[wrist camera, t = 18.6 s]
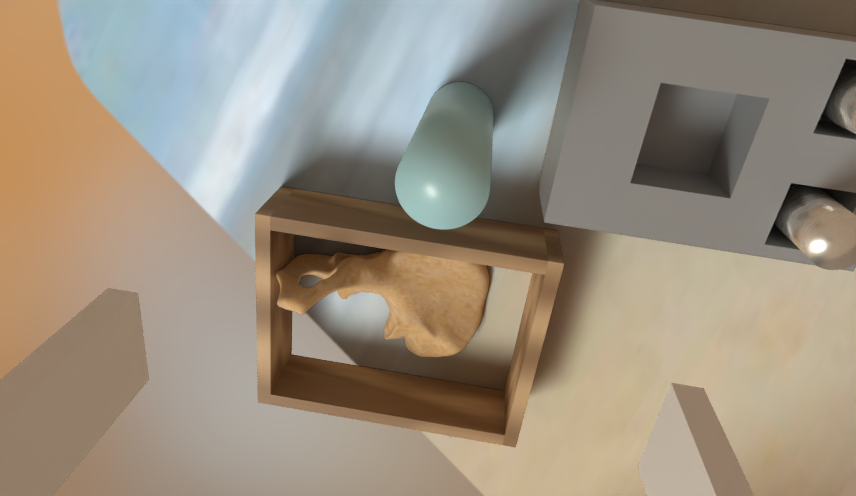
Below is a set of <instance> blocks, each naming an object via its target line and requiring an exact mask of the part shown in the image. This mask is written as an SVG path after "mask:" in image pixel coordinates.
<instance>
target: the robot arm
mask: <svg viewBox="0 0 856 496" xmlns="http://www.w3.org/2000/svg"><path fill="white" fill-rule="evenodd" d="M148 380H149V375H148V368H147V360H146V352H145V344H144V336H143V328H142V320H141V312H140V304H139V296H138V293H135V292H129V291H123V290H118V289H111V288H108V289H106V290H105V291H104V292H103V293H102V294H101V295H99V296H98V297H97V298H96V299H95V300H94V301H92V302H91V303H90V304H89V305H88V306H86V307H85V308H84V309H83V310H82V311H81V312H80V313H78V314H77V315H76V316H75V317H74V318H72V319H71V320H70V321H69V322H68V323H66V325H64V326H63V327H62V328H61V329H60V330H58V331H57V332H56V333H55V334H54V335H52V336H51V337H50V338H49V339H48V340H47V341H45V342H44V343H43V344H42V345H41V346H40V347H38V348H37V349H36V350H35V351H34V352H33V353H31V354H30V355H29V356H28V357H27V358H25V359H24V360H23V361H22V362H21V363H19V364H18V365H17V366H16V367H15V368H14V369H13V370H11V371H10V372H9V373H8V374H7V375H5V376H4V377H3V378H2V379H1V380H0V496H53V495H54V494H55V493H56V491H57V490H58V489H59V488H60V487H61V485H62V484H63V483H64V482H65V481H66V479H67V478H68V477H69V476H70V475H71V473H72V472H73V471H74V470H75V468H76V467H77V466H78V465H79V464H80V462H81V461H82V460H83V459H84V457H85V456H86V455H87V454H88V453H89V452H90V450H91V449H92V448H93V447H94V446H95V444H96V443H97V442H98V441H99V439H100V438H101V437H102V436H103V435H104V433H105V432H106V431H107V430H108V428H109V427H110V426H111V425H112V424H113V423H114V421H115V420H116V419H117V418H118V416H119V415H120V414H121V413H122V412H123V410H124V409H125V408H126V407H127V406H128V404H129V403H130V402H131V401H132V400H133V398H134V397H135V396H136V395H137V393H138V392H139V391H140V390H141V388H142V387H143V386H144V385H145V384H146V382H147V381H148ZM638 468H639V471H640V475H641V479H642V483H643V486H644V490H645V494H646V496H754V495H753V492H752V490H751V488H750V486H749V484H748V482H747V480H746V477H745V475H744V473H743V471H742V469H741V467H740V465H739V463H738V460H737V458H736V456H735V454H734V452H733V450H732V448H731V445H730V443H729V441H728V439H727V437H726V435H725V433H724V431H723V428H722V426H721V424H720V422H719V420H718V418H717V416H716V414H715V411H714V409H713V407H712V405H711V403H710V401H709V399H708V396H707V394H706V392H705V390H704V388H699V387H693V386H687V385H681V384H675V383H671V385H670V387H669V390H668V392H667V394H666V397H665V399H664V402H663V404H662V407H661V409H660V412H659V414H658V417H657V419H656V421H655V424H654V426H653V429H652V431H651V434H650V436H649V439H648V441H647V444H646V446H645V448H644V451H643V453H642V456H641V458H640V461H639V463H638Z"/></svg>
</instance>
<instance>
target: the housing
mask: <svg viewBox="0 0 856 496" xmlns="http://www.w3.org/2000/svg"><path fill="white" fill-rule="evenodd" d="M844 63H853V64H856V36H850V35H843V34H836V33H829V32H822V31H815V30H808V29H801V28H793V27H786V26H779V25H772V24H765V23H758V22H751V21H744V20H737V19H730V18H723V17H716V16H709V15H702V14H695V13H688V12H681V11H674V10H666V9H659V8H652V7H645V6H638V5H631V4H624V3H617V2H610V1H603V0H580V4H579V8H578V12H577V17H576V21H575V26H574V30H573V34H572V39H571V43H570V48H569V52H568V57H567V61H566V65H565V70H564V74H563V79H562V83H561V88H560V92H559V96H558V101H557V105H556V110H555V114H554V119H553V123H552V127H551V132H550V136H549V141H548V145H547V150H546V154H545V158H544V163H543V167H542V172H541V176H540V181H539V185H538V189H539V195H540V201H541V207H542V213H543V219H544V222H545V223H551V224H557V225H564V226H570V227H576V228H582V229H589V230H595V231H601V232H608V233H614V234H620V235H627V236H633V237H639V238H646V239H652V240H658V241H664V242H671V243H677V244H683V245H690V246H696V247H702V248H709V249H715V250H721V251H728V252H734V253H740V254H747V255H753V256H759V257H765V258H772V259H778V260H784V261H791V262H797V263H803V264H810V265H816V264H814V263H813V262H812V261H811V260H810V259H809V258H808V257H807V256H806V255H805V254H804V253H803V252H802V251H801V250H800V249H799V248H798V247H797V246H796V245H795V244H794V243H793V242H792V241H791V240H790V239H789V238H788V237H787V236H786V235H785V234H784V233H783V232H782V231H781V230H780V229H779V228H778V227H777V226H776V225H775V224H774V221H775V219H776V217H777V214H778V212H779V210H780V208H781V205H782V203H783V201H784V199H785V196H786V194H787V192H788V189H789V187H790V185H791V183H795V184H801V185H808V186H814V187H818V188H819V189H821V190H822V191H823V192H825V193H826V194H827V195H829V196H830V197H831V198H833V199H834V200H836V201H837V202H838V203H840V204H841V205H842V206H844V207H845V208H847V209H848V210H849V211H851V212H852V213H853V214H855V215H856V134H855V133H853V132H851V131H849V130H847V129H845V128H843V127H841V126H839V125H837V124H835V123H833V122H831V121H829V120H827V119H825V118H823V117H821V114H822V112H823V110H824V108H825V105H826V103H827V101H828V99H829V96H830V94H831V92H832V89H833V87H834V85H835V83H836V80H837V78H838V76H839V74H840V71H841V69H842V67H843V64H844ZM816 266H817V265H816ZM855 267H856V264H854V265H852V266H850V267H847V268H844V269H841V270H847V271H854V269H855Z"/></svg>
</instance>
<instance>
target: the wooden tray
mask: <svg viewBox="0 0 856 496" xmlns="http://www.w3.org/2000/svg"><path fill="white" fill-rule="evenodd" d="M294 234H296V235H302V236H309V237H315V238H321V239H327V240H333V241H339V242H346V243H352V244H358V245H364V246H370V247H376V248H382V249H389V250H395V251H401V252H407V253H413V254H419V255H426V256H432V257H438V258H444V259H450V260H456V261H463V262H469V263H475V264H481V265H487V266H493V267H500V268H506V269H512V270H518V271H524V272H530V273H532V278H531V282H530V286H529V290H528V294H527V299H526V303H525V307H524V311H523V315H522V320H521V324H520V328H519V332H518V336H517V340H516V345H515V349H514V353H513V357H512V361H511V366H510V370H509V374H508V378H507V382H506V387H505V391H502V390H496V389H490V388H484V387H478V386H473V385H467V384H461V383H455V382H449V381H443V380H438V379H432V378H426V377H420V376H414V375H408V374H402V373H397V372H391V371H385V370H379V369H373V368H367V367H362V366H356V365H350V364H344V363H338V362H332V361H327V360H321V359H315V358H309V357H303V356H297V355H291V350H292V311H291V310H287V309H284V308H282V307H279V306H278V305H277V301H278V298H279V295H280V284H279V281H278V279H277V276H276V273H277V272H278V271H280V270H283V269H284V268H285V266H286V265H287V264H288V263H289V262H290V261H291V260H293V244H294ZM255 247H256V312H257V377H258V402H259V403H265V404H271V405H277V406H282V407H288V408H294V409H299V410H305V411H311V412H316V413H322V414H328V415H333V416H339V417H345V418H351V419H357V420H362V421H368V422H373V423H380V424H386V425H391V426H396V427H402V428H408V429H414V430H419V431H425V432H431V433H436V434H442V435H448V436H453V437H459V438H465V439H471V440H476V441H482V442H488V443H493V444H499V445H505V446H510V447H516V444H517V440H518V436H519V433H520V429H521V425H522V421H523V418H524V414H525V410H526V406H527V403H528V399H529V395H530V391H531V387H532V384H533V380H534V376H535V372H536V369H537V365H538V361H539V357H540V354H541V350H542V346H543V342H544V339H545V335H546V331H547V327H548V323H549V320H550V316H551V312H552V308H553V305H554V301H555V297H556V293H557V290H558V286H559V282H560V278H561V275H562V271H563V267H564V260H563V255H562V250H561V245H560V240H559V236H558V231H557V230H552V229H545V228H539V227H533V226H527V225H520V224H514V223H508V222H501V221H495V220H489V219H483V218H475V219H474V220H472V221H471V222H469V223H468V224H466V225H464V226H461V227H458V228H454V229H444V230H442V229H434V228H430V227H427V226H424V225H422V224H420V223H418V222H417V221H415V220H414V219H413V218H411V217H410V216H409V215H408V214H407V213H406V212H405V210H404V209H403V208H402V206H401V205H394V204H388V203H382V202H376V201H369V200H363V199H357V198H350V197H344V196H338V195H331V194H325V193H319V192H313V191H306V190H300V189H294V188H287V187H280V188H279V189H278V190H277V191H276V192H275V193H274V194H273V195H272V196H271V198H270V199H269V200H268V201H267V202H266V203H265V204H264V205H263V206H262V207H261V208H260V209H259V210H258V211H257V212H256V213H255Z"/></svg>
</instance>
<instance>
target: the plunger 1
mask: <svg viewBox="0 0 856 496" xmlns="http://www.w3.org/2000/svg"><path fill="white" fill-rule="evenodd" d="M774 224H775V225H776V226H777V227H778V228H779V229H780V230H781V231H782V232H783V233H784V234H785V235H786V236H787V237H788V238H789V239H790V240H791V241H792V242H793V243H794V244H795V245H796V246H797V247H798V248H799V249H800V250H801V251H802V252H803V253H804V254H805V255H806V256H807V257H808V258H809V259H810V260H811V261H812V262H813V263H814V264H816V265H817V266H819V267H821V268H823V269H828V270H839V269H844V268H847V267H850V266H852V265H854V264H856V215H855V214H853V213H852V212H851V211H849V210H848V209H847V208H845V207H844V206H842V205H841V204H840V203H838V202H837V201H836V200H834V199H833V198H831V197H830V196H829V195H827V194H826V193H825V192H823V191H822V190H821V189H819V188H818V187H814V186H808V185H801V184H795V183H791V185H790V187H789V189H788V192H787V194H786V196H785V199H784V201H783V203H782V205H781V208H780V210H779V212H778V214H777V217H776V219H775V221H774Z"/></svg>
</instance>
